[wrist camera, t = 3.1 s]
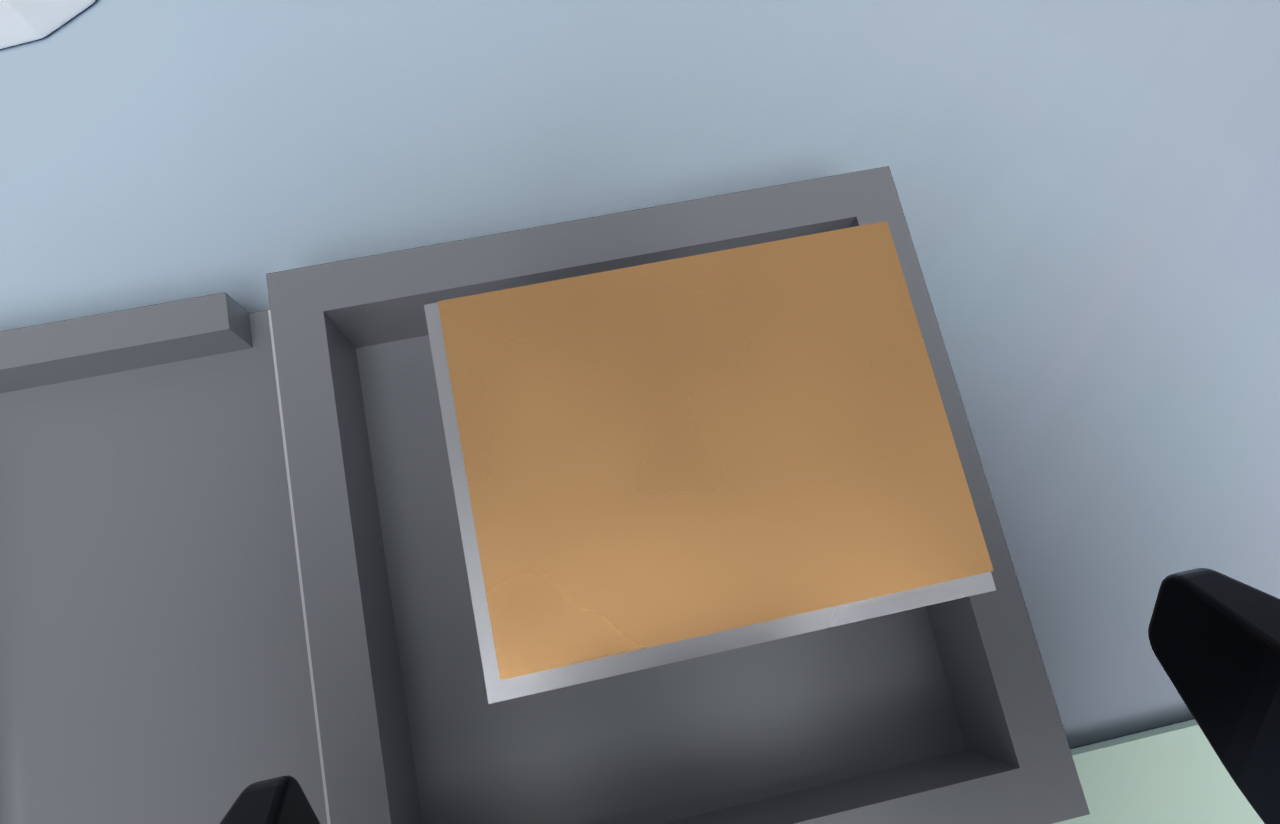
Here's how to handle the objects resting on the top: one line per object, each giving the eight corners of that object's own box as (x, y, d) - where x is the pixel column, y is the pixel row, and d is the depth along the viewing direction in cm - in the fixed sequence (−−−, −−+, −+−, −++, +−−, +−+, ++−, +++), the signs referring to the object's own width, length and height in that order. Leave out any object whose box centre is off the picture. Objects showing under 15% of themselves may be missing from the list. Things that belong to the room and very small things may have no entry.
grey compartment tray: (1022, 788, 18) (1090, 813, 15) (-384, 1137, 15) (-573, 1234, 13) (855, 220, 21) (888, 166, 18) (-343, 433, 18) (-489, 404, 16)
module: (783, 609, 18) (1020, 587, 8) (550, 661, 18) (481, 708, 7) (739, 429, 19) (900, 200, 9) (516, 473, 18) (413, 286, 8)
